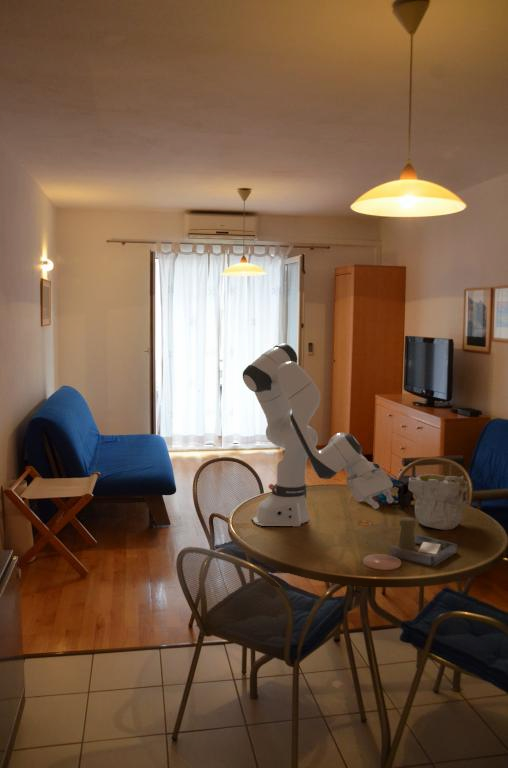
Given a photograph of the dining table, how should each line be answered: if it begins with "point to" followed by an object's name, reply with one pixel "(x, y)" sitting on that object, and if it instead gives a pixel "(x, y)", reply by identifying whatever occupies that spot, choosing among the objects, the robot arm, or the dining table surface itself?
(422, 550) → the offcut stack
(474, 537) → the dining table surface
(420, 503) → the ceramic vessel
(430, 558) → the grey u-shaped frame
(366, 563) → the pink round disc
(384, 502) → the lantern
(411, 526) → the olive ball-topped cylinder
